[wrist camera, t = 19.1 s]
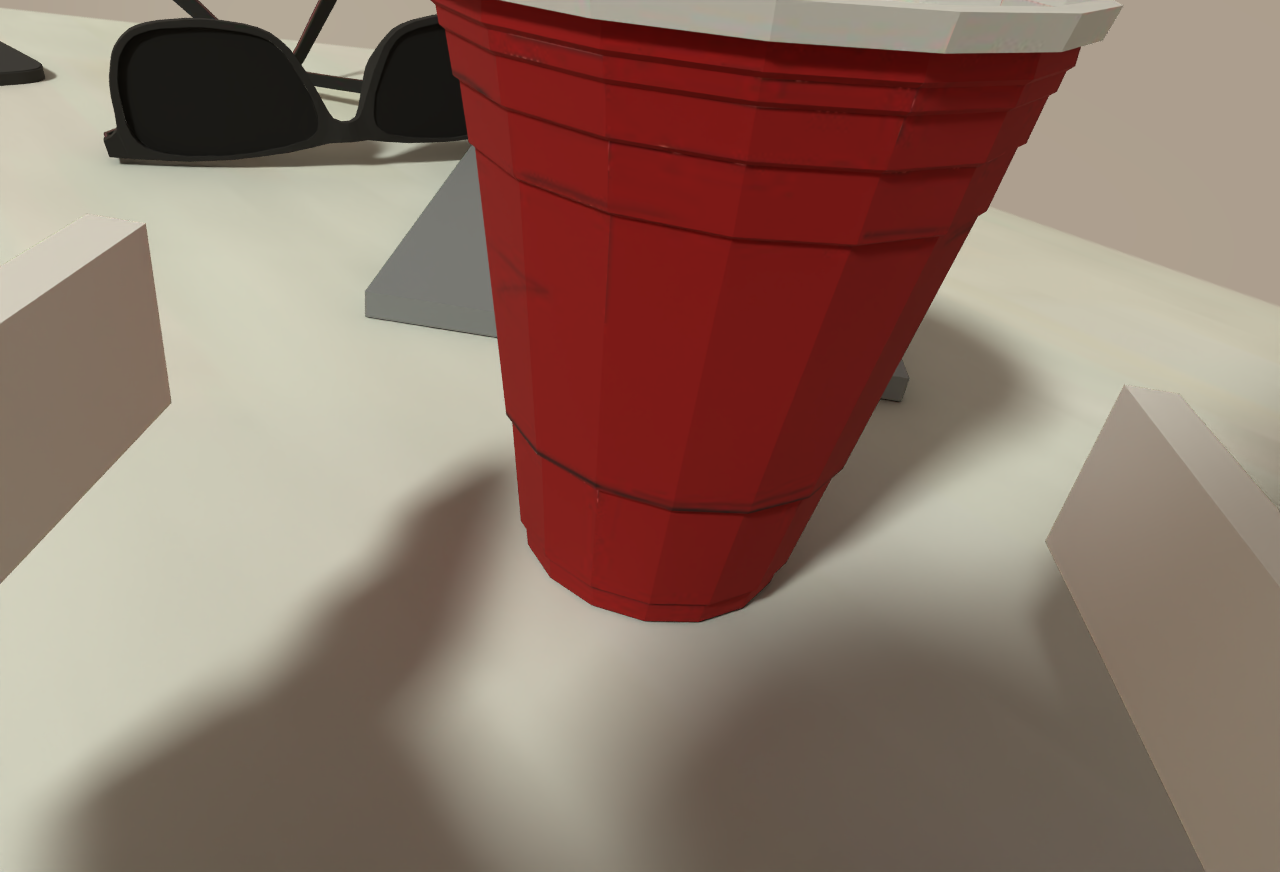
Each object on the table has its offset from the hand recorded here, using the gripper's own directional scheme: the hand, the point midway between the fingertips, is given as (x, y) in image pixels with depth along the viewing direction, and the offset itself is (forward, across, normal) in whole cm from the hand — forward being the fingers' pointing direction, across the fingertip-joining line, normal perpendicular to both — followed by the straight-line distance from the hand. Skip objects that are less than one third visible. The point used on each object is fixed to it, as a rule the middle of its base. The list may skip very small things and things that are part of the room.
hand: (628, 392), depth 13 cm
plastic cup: (+5, +1, -7) cm, 9 cm away
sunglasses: (+31, -16, -6) cm, 35 cm away
